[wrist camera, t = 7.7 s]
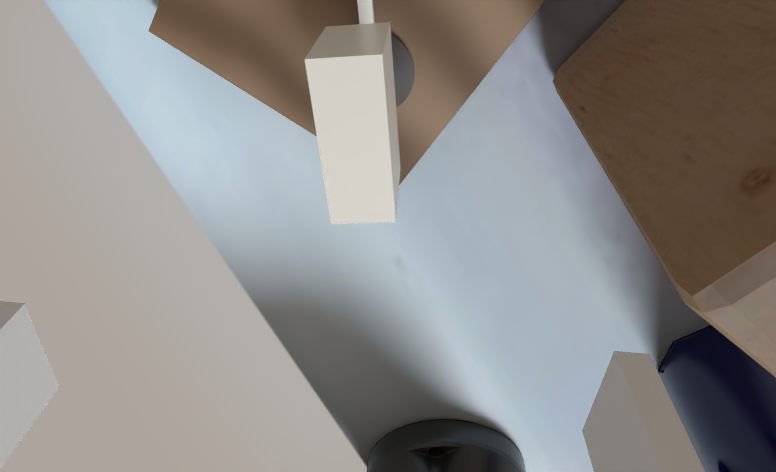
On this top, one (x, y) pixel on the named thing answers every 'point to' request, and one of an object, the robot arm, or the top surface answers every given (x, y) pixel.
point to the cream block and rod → (356, 119)
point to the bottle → (722, 402)
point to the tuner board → (339, 7)
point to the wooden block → (691, 148)
